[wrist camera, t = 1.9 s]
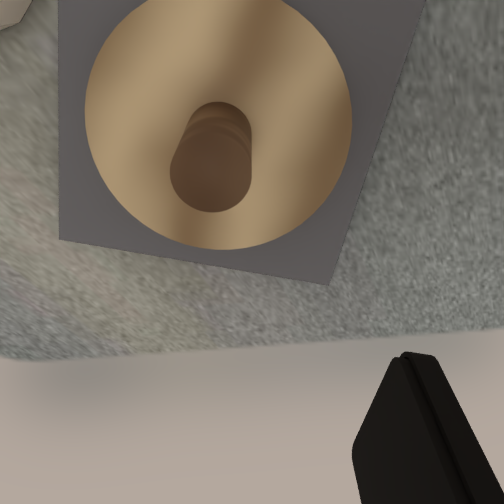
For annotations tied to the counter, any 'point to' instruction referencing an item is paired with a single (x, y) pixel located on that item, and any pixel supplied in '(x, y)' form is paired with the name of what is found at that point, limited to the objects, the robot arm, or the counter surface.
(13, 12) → the bowl
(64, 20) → the mat
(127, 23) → the lid
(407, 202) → the counter surface
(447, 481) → the robot arm
